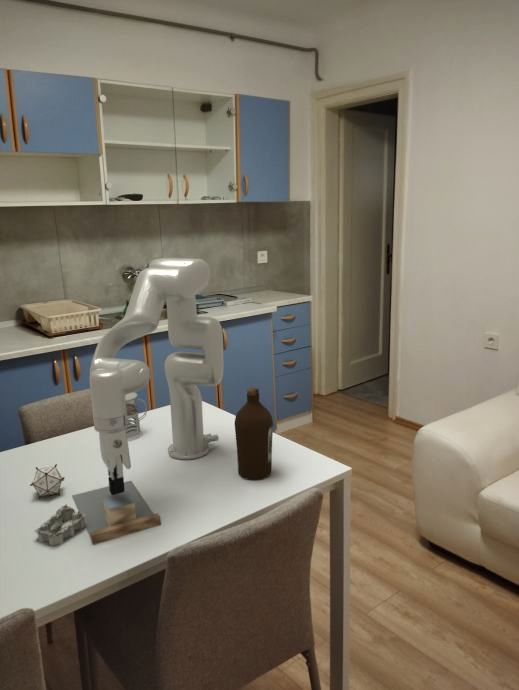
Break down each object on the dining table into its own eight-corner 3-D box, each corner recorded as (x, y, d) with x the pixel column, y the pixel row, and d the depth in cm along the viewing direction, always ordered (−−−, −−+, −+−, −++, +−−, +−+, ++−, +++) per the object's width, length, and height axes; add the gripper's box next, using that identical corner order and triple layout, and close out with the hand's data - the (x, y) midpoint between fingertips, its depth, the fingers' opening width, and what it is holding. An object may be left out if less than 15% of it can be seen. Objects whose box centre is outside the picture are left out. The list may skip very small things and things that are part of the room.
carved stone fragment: (69, 517, 138) (67, 502, 137) (91, 524, 134) (89, 509, 133) (33, 540, 129) (30, 524, 128) (55, 549, 125) (52, 533, 124)
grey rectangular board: (131, 481, 155) (131, 480, 155) (158, 522, 135) (158, 521, 135) (71, 496, 148) (71, 495, 148) (91, 541, 128) (91, 540, 128)
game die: (54, 510, 149) (50, 494, 141) (25, 497, 149) (20, 480, 142) (73, 481, 154) (70, 464, 147) (45, 469, 155) (41, 452, 148)
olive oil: (236, 482, 154) (233, 396, 147) (236, 464, 164) (233, 383, 158) (274, 480, 154) (273, 394, 148) (272, 463, 164) (271, 382, 158)
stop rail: (158, 522, 135) (158, 512, 135) (161, 525, 134) (160, 516, 133) (91, 541, 128) (90, 532, 127) (93, 545, 127) (92, 535, 126)
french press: (112, 431, 190) (105, 360, 183) (146, 426, 193) (141, 357, 187) (113, 443, 180) (106, 368, 174) (150, 437, 184) (144, 364, 178)
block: (134, 501, 133) (136, 524, 134) (127, 490, 138) (129, 512, 139) (109, 508, 130) (111, 531, 131) (103, 496, 135) (105, 519, 136)
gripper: (135, 428, 125) (141, 502, 130) (118, 407, 138) (124, 475, 142) (101, 435, 122) (109, 510, 126) (87, 413, 134) (94, 483, 139)
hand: (117, 492), depth 134 cm, fingers closed
